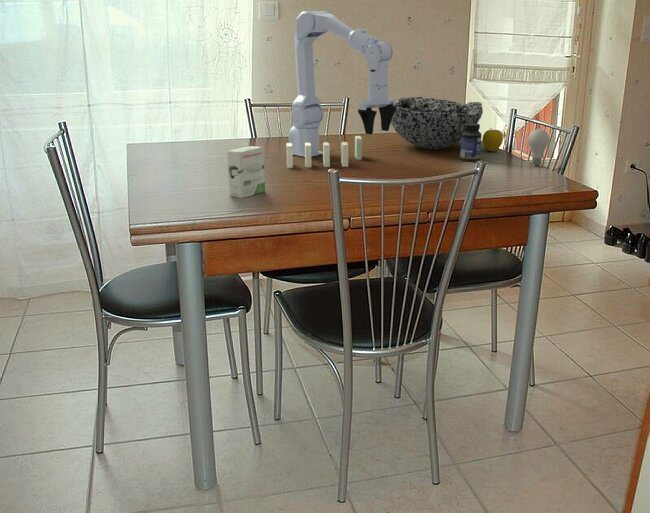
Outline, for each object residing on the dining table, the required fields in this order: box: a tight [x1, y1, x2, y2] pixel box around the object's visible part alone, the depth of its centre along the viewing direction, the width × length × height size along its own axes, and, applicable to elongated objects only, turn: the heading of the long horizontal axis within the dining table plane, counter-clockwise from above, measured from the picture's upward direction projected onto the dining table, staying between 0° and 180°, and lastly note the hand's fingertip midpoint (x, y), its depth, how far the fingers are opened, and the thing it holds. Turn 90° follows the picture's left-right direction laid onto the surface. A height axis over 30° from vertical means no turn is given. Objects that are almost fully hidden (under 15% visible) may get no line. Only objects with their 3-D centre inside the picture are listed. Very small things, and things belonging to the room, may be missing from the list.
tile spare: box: [354, 135, 363, 161], centre depth 227 cm, size 2×5×6 cm, turn 5°
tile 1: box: [285, 142, 294, 169], centre depth 216 cm, size 2×5×6 cm, turn 4°
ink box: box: [226, 145, 266, 199], centre depth 184 cm, size 9×5×12 cm, turn 140°
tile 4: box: [340, 141, 349, 168], centre depth 218 cm, size 2×5×6 cm, turn 5°
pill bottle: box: [459, 123, 483, 163], centre depth 223 cm, size 6×6×11 cm
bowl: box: [390, 96, 484, 150], centre depth 241 cm, size 31×31×15 cm
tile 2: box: [304, 143, 312, 169], centre depth 217 cm, size 2×5×6 cm, turn 5°
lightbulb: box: [527, 128, 551, 167], centre depth 213 cm, size 6×6×11 cm
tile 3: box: [322, 141, 331, 168], centre depth 217 cm, size 2×5×6 cm, turn 5°
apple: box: [481, 127, 504, 152], centre depth 235 cm, size 6×6×8 cm
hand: (377, 132), depth 214 cm, fingers open, 7 cm apart
